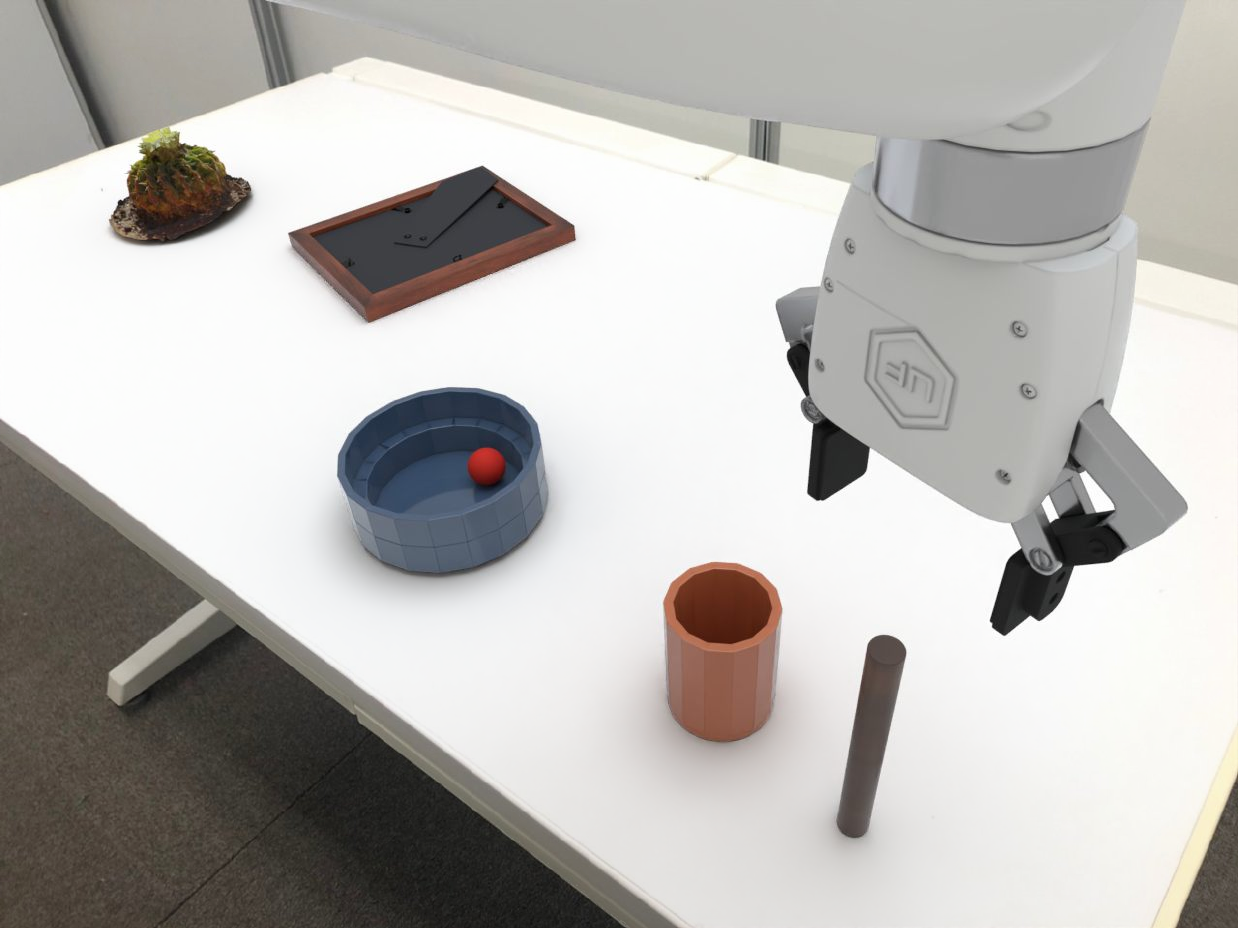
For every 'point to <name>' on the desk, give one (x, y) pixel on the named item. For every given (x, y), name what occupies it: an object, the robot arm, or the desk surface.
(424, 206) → the picture frame
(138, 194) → the cactus
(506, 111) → the desk surface
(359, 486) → the bowl
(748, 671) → the crock
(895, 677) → the stick
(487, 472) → the ball
